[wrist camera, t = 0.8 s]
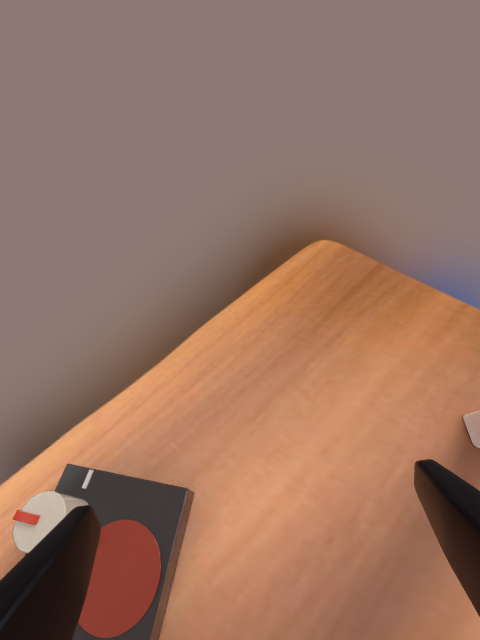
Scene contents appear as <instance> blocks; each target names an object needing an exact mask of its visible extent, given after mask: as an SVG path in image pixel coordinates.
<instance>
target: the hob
mask: <svg viewBox="0 0 480 640" xmlns="http://www.w3.org/2000/svg"><path fill="white" fill-rule="evenodd" d="M55 492H58V493H62V494H66V495H70V496H74V497H78V498H81V499H83V500H85V501H86V502H87V503H88V505H90V506H92V507H93V509H94V511H95V514H96V516H97V518H98V520H99V522H100V525H101V528H102V527H104V526H105V525H107V524H109V523H111V522H114V521H117V520H134V521H137V522H140V523H141V524H143V525H145V526H146V527H147V528H148V529H149V530H150V531H151V532H152V534H153V535H154V537H155V539H156V541H157V543H158V546H159V549H160V554H161V577H160V582H159V587H158V590H157V593H156V595H155V598H154V600H153V602H152V604H151V606H150V608H149V609H148V611H147V612H146V614H145V615H144V616H143V618H142V619H141V620H140V621H139V622H138V623H137V624H136V625H135V626H134V627H132V628H131V629H130V630H128V631H126V632H125V633H123V634H121V635H118V636H115V637H110V638H100V637H96V636H93V635H91V634H89V633H88V632H87V631H85V630H84V629H83V628H82V627H81V626H80V624H79V623H78V624H77V627H76V631H75V634H74V637H73V640H159V635H160V631H161V627H162V623H163V619H164V615H165V611H166V607H167V603H168V599H169V594H170V590H171V586H172V582H173V578H174V574H175V570H176V566H177V562H178V558H179V553H180V549H181V545H182V541H183V537H184V533H185V529H186V525H187V521H188V517H189V512H190V508H191V504H192V500H193V496H194V492H193V491H191V490H189V489H188V488H183V487H178V486H173V485H168V484H164V483H159V482H154V481H149V480H144V479H139V478H134V477H130V476H125V475H120V474H115V473H110V472H105V471H101V470H96V469H91V468H86V467H81V466H76V465H72V464H67V466H66V468H65V470H64V472H63V474H62V477H61V479H60V481H59V483H58V485H57V487H56V489H55ZM27 554H28V553H26V554H25V556H26V555H27Z"/></svg>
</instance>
